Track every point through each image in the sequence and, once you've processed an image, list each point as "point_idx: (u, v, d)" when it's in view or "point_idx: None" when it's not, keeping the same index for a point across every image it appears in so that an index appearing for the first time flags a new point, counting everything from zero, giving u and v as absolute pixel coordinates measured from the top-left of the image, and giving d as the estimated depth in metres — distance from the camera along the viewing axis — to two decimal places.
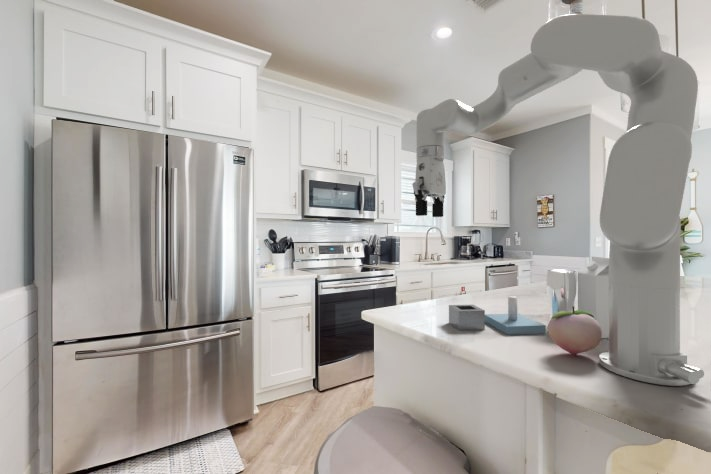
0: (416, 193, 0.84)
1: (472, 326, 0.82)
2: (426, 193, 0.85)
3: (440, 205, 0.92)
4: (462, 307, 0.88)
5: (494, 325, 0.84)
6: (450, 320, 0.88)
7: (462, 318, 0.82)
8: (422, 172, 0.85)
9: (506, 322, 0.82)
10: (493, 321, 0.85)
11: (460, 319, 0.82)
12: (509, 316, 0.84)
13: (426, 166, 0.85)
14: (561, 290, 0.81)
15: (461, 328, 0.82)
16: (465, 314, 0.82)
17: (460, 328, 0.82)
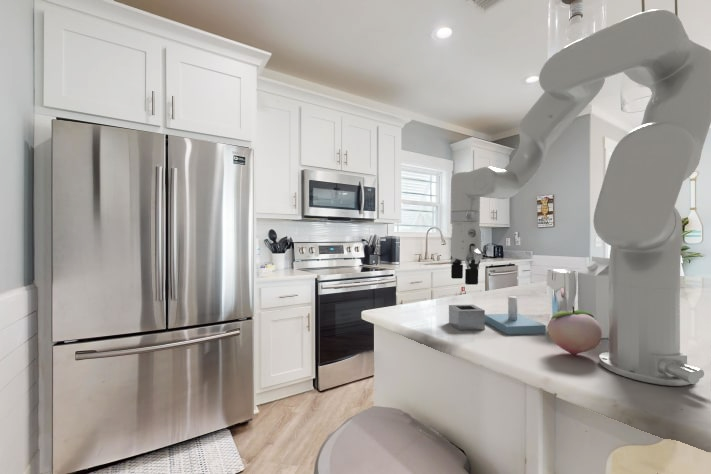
0: (476, 263, 0.79)
1: (472, 326, 0.82)
2: None
3: (461, 267, 0.91)
4: (462, 307, 0.88)
5: (494, 325, 0.84)
6: (450, 320, 0.88)
7: (462, 318, 0.82)
8: (473, 239, 0.81)
9: (506, 322, 0.82)
10: (493, 321, 0.85)
11: (460, 319, 0.82)
12: (509, 316, 0.84)
13: (477, 233, 0.81)
14: (561, 290, 0.81)
15: (461, 328, 0.82)
16: (465, 314, 0.82)
17: (460, 328, 0.82)
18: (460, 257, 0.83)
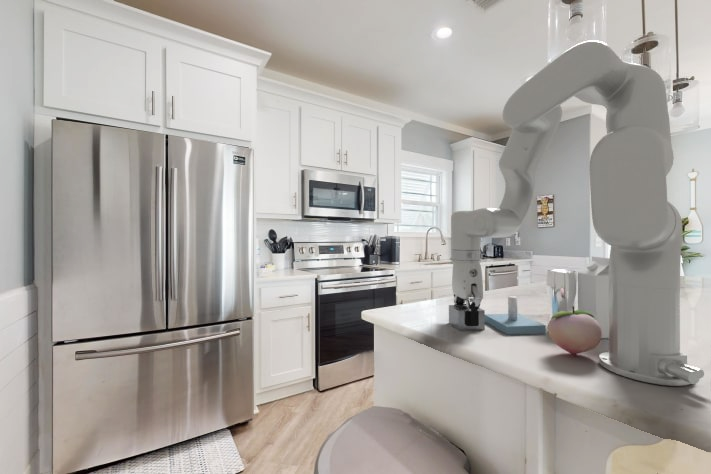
0: (476, 306, 0.79)
1: (472, 326, 0.82)
2: None
3: None
4: (462, 307, 0.88)
5: (494, 325, 0.84)
6: (450, 320, 0.88)
7: (462, 318, 0.82)
8: (475, 279, 0.81)
9: (506, 322, 0.82)
10: (493, 321, 0.85)
11: (460, 319, 0.82)
12: (509, 316, 0.84)
13: (478, 273, 0.81)
14: (561, 290, 0.81)
15: (461, 328, 0.82)
16: (464, 314, 0.82)
17: (460, 328, 0.82)
18: (462, 296, 0.83)
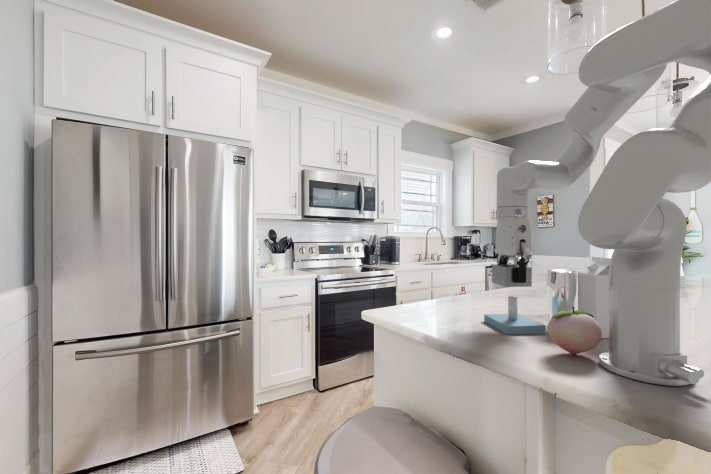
0: (525, 261, 0.78)
1: (519, 283, 0.81)
2: None
3: None
4: (506, 266, 0.87)
5: (494, 325, 0.84)
6: (494, 279, 0.87)
7: (509, 275, 0.81)
8: (523, 234, 0.80)
9: (506, 322, 0.82)
10: (493, 321, 0.85)
11: (507, 275, 0.81)
12: (509, 316, 0.84)
13: (527, 229, 0.80)
14: (561, 290, 0.81)
15: (508, 285, 0.81)
16: (512, 271, 0.81)
17: (507, 285, 0.81)
18: (509, 253, 0.82)
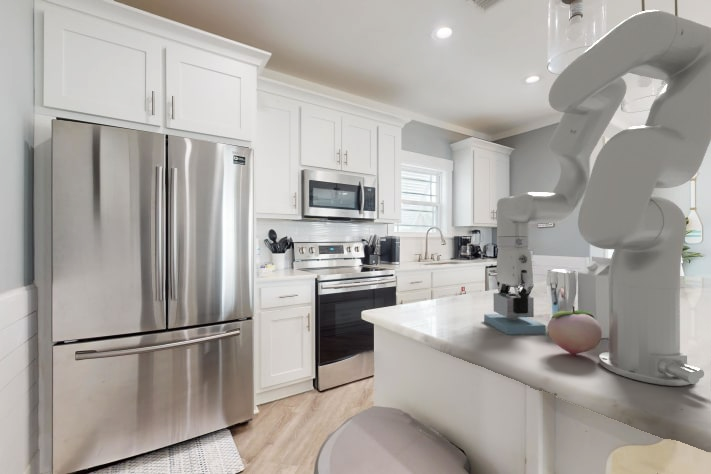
0: (526, 292, 0.78)
1: None
2: None
3: None
4: (508, 295, 0.87)
5: (494, 325, 0.84)
6: (495, 308, 0.87)
7: (511, 305, 0.81)
8: (524, 265, 0.79)
9: (506, 322, 0.82)
10: (493, 321, 0.85)
11: (508, 306, 0.81)
12: None
13: (528, 259, 0.80)
14: (561, 290, 0.81)
15: (510, 315, 0.81)
16: (513, 302, 0.81)
17: (509, 315, 0.81)
18: (510, 283, 0.82)
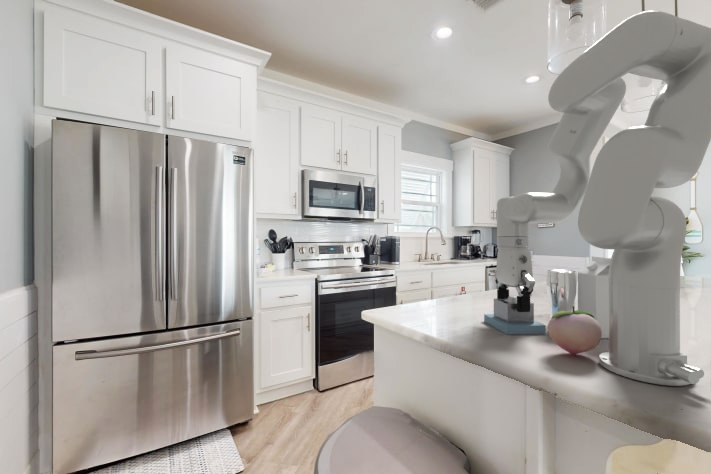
0: (529, 290, 0.77)
1: (521, 319, 0.81)
2: None
3: (507, 292, 0.89)
4: None
5: (494, 325, 0.84)
6: (496, 314, 0.86)
7: (511, 311, 0.81)
8: (524, 265, 0.79)
9: None
10: (493, 321, 0.85)
11: (509, 312, 0.81)
12: None
13: (528, 259, 0.80)
14: (561, 290, 0.81)
15: (510, 321, 0.81)
16: (514, 308, 0.81)
17: (509, 321, 0.81)
18: (510, 283, 0.82)
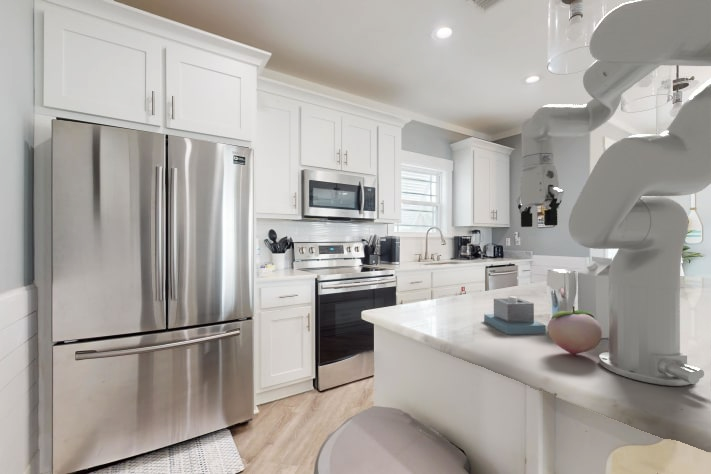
0: (557, 202, 0.79)
1: (521, 319, 0.81)
2: None
3: (530, 215, 0.91)
4: None
5: (494, 325, 0.84)
6: (496, 314, 0.86)
7: (511, 311, 0.81)
8: (551, 180, 0.81)
9: None
10: (493, 321, 0.85)
11: (509, 312, 0.81)
12: None
13: (555, 174, 0.82)
14: (561, 290, 0.81)
15: (510, 321, 0.81)
16: (514, 308, 0.81)
17: (509, 321, 0.81)
18: (536, 200, 0.84)
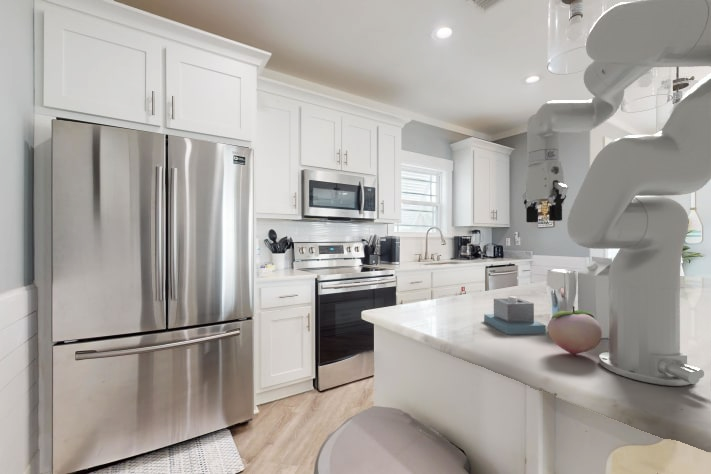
0: (562, 197, 0.79)
1: (521, 319, 0.81)
2: None
3: (536, 210, 0.91)
4: None
5: (494, 325, 0.84)
6: (496, 314, 0.86)
7: (511, 311, 0.81)
8: (556, 176, 0.82)
9: None
10: (493, 321, 0.85)
11: (509, 312, 0.81)
12: None
13: (560, 170, 0.82)
14: (561, 290, 0.81)
15: (510, 321, 0.81)
16: (514, 308, 0.81)
17: (509, 321, 0.81)
18: (541, 196, 0.84)
